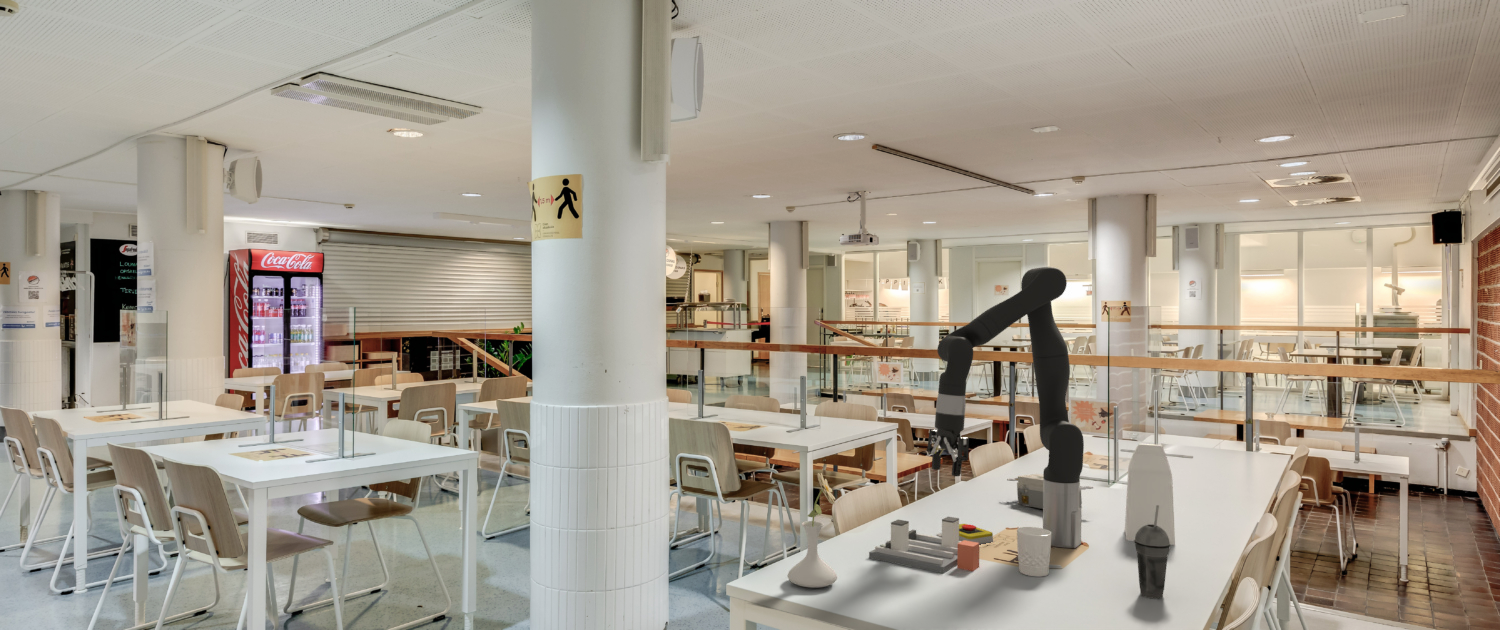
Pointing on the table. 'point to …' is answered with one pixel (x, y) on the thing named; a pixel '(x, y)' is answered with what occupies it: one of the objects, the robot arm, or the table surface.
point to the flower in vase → (814, 550)
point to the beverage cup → (1152, 558)
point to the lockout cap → (968, 555)
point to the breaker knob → (900, 535)
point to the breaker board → (919, 553)
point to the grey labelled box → (1035, 490)
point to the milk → (1149, 491)
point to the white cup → (1033, 551)
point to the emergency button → (973, 534)
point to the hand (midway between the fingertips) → (945, 472)
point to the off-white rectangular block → (950, 532)
